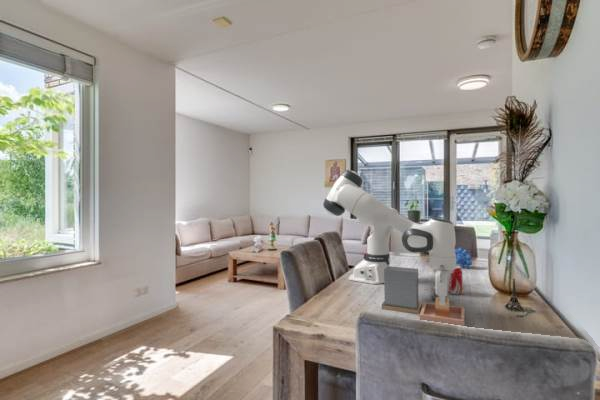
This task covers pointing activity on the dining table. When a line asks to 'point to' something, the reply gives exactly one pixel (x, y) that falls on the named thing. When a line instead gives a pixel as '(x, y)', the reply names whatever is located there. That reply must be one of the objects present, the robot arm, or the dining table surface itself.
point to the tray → (455, 317)
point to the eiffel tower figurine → (517, 304)
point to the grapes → (463, 258)
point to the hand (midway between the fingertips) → (443, 300)
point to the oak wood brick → (442, 308)
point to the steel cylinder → (433, 294)
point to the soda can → (456, 281)
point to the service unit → (401, 290)
